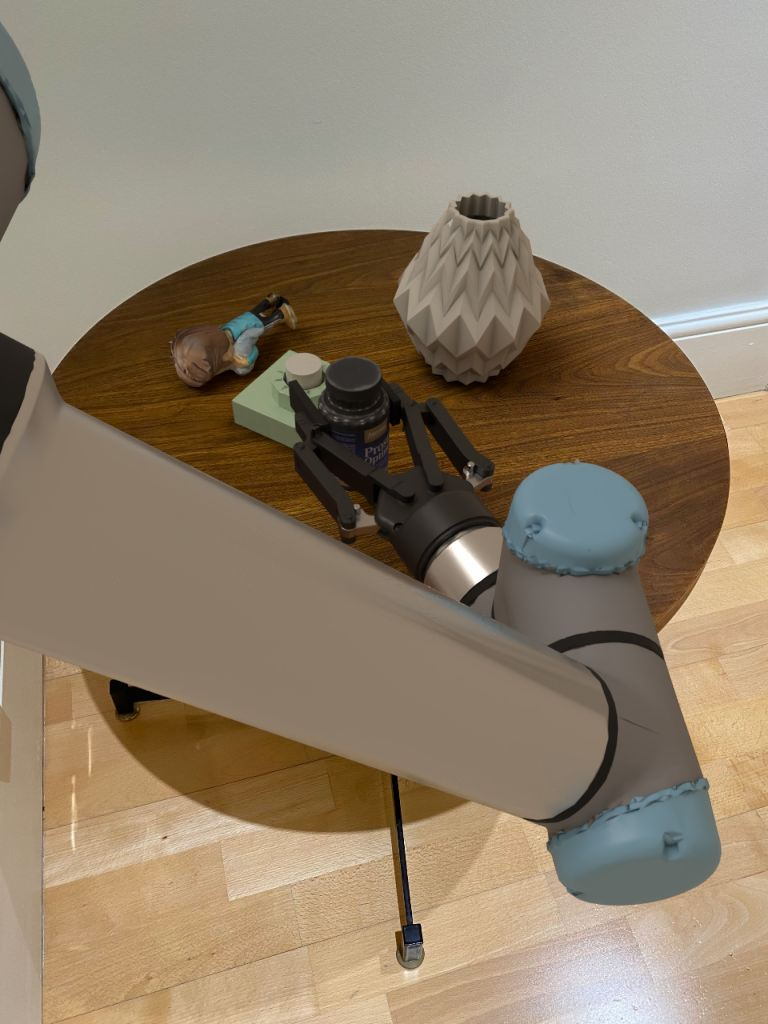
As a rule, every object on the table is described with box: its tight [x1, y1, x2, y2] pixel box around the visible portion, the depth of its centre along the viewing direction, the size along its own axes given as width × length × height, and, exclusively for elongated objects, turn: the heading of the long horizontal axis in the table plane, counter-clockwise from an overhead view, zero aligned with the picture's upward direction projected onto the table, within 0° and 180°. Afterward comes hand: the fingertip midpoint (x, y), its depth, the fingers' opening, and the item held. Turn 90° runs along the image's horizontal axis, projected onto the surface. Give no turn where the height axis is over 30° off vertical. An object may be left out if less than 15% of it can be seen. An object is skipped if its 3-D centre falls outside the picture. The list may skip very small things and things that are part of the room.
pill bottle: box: [318, 356, 390, 493], centre depth 75 cm, size 6×6×11 cm
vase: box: [393, 191, 551, 386], centre depth 91 cm, size 16×16×18 cm
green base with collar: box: [231, 349, 331, 449], centre depth 89 cm, size 11×10×5 cm
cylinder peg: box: [285, 352, 322, 390], centre depth 87 cm, size 4×4×2 cm
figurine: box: [167, 292, 298, 388], centre depth 95 cm, size 8×16×6 cm, turn 134°
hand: (328, 382), depth 78 cm, fingers closed on pill bottle, 6 cm apart
